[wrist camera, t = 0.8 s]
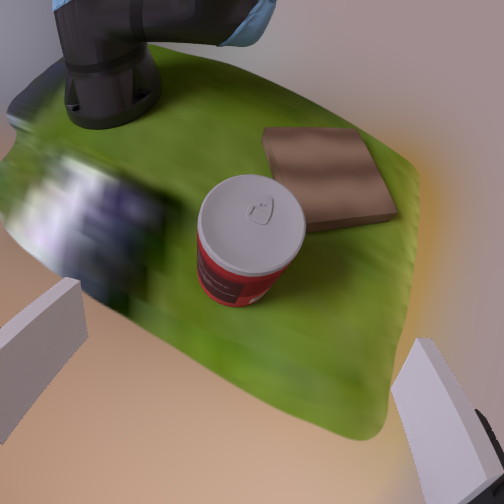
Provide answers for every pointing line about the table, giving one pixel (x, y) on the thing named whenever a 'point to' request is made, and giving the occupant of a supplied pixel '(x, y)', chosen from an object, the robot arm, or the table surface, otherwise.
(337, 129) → the walnut base
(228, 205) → the canned food
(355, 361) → the table surface
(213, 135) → the table surface
